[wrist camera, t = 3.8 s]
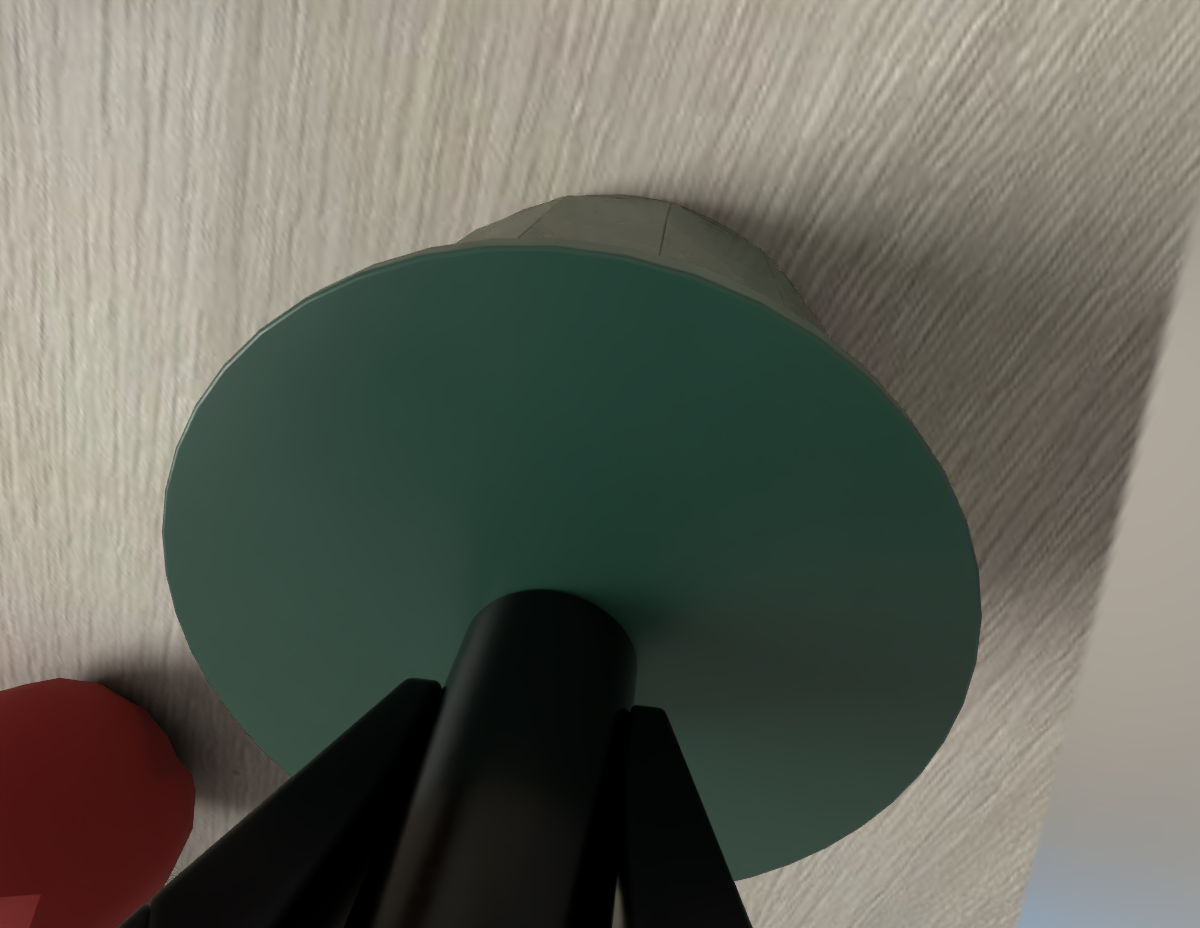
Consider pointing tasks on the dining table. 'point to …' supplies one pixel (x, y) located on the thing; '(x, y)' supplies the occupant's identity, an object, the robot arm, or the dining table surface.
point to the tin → (654, 239)
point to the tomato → (85, 806)
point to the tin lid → (571, 564)
